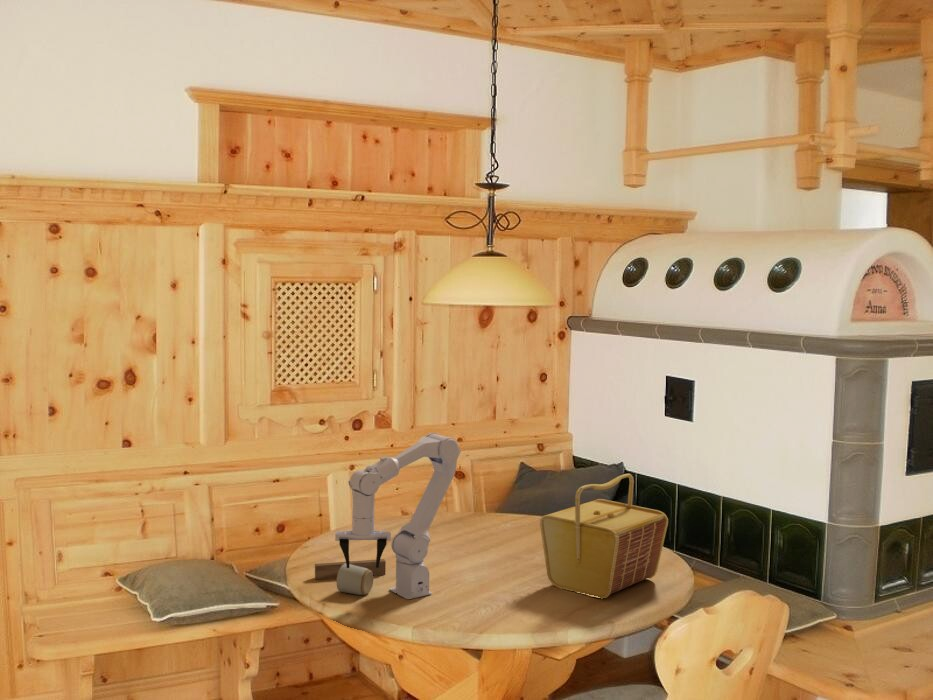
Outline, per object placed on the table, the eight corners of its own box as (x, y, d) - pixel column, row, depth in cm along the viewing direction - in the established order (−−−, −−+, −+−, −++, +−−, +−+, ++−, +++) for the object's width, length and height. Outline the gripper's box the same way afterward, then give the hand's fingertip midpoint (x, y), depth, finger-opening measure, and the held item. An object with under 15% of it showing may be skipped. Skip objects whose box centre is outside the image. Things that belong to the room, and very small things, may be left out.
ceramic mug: (362, 599, 267) (363, 571, 267) (335, 595, 270) (336, 567, 270) (379, 588, 277) (380, 560, 277) (353, 584, 280) (354, 557, 280)
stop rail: (385, 574, 288) (385, 561, 288) (315, 579, 283) (315, 565, 282) (383, 572, 290) (384, 559, 290) (314, 577, 285) (314, 563, 284)
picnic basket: (592, 562, 304) (596, 465, 302) (668, 581, 288) (672, 478, 285) (535, 585, 282) (538, 480, 280) (613, 607, 266) (617, 496, 263)
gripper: (390, 512, 268) (389, 561, 269) (336, 512, 267) (335, 562, 268) (391, 519, 261) (390, 570, 262) (335, 519, 260) (334, 570, 261)
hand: (362, 566), depth 265 cm, fingers open, 7 cm apart
